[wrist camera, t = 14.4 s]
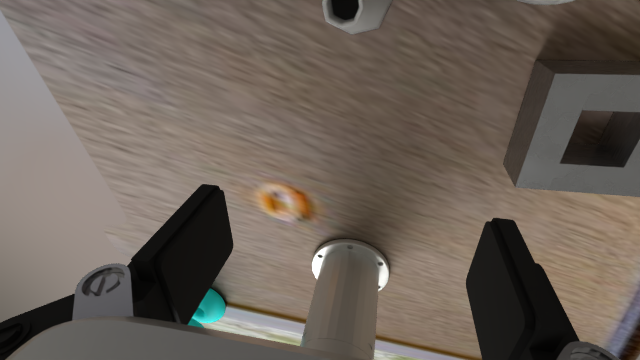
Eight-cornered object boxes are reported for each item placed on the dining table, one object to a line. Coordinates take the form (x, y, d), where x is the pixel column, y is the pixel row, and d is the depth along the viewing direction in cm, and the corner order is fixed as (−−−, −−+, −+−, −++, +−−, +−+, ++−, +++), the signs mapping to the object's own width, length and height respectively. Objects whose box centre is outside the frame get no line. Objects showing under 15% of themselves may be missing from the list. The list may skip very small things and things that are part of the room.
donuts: (189, 328, 55) (212, 360, 60) (216, 281, 64) (234, 313, 69) (143, 325, 58) (168, 356, 63) (174, 281, 66) (194, 312, 71)
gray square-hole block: (618, 171, 37) (645, 197, 33) (503, 163, 39) (515, 187, 35) (678, 61, 30) (721, 76, 26) (535, 59, 32) (555, 73, 28)
